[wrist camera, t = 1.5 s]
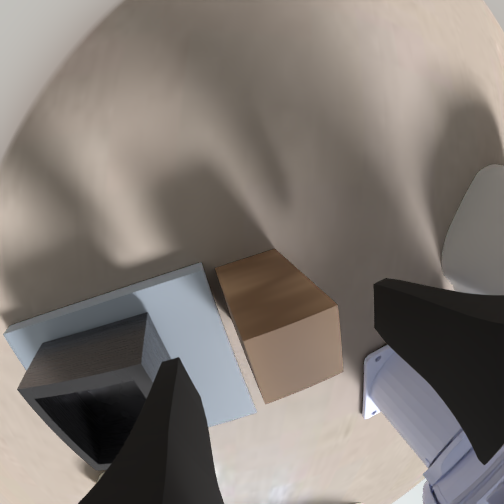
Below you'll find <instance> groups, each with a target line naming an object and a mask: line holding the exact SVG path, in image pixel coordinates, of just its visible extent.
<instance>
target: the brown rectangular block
mask: <svg viewBox="0 0 504 504" xmlns="http://www.w3.org/2000/svg"><path fill="white" fill-rule="evenodd" d="M215 271H216V274H217V277H218V280H219V283H220V286H221V289H222V292H223V295H224V298H225V301H226V304H227V307H228V310H229V313H230V316H231V319H232V322H233V324H234V327H235V330H236V332H237V335H238V337H239V340H240V343H241V345H242V348H243V350H244V353H245V355H246V358H247V360H248V363H249V365H250V368H251V370H252V373H253V375H254V378H255V380H256V383H257V385H258V388H259V390H260V392H261V395H262V397H263V400H264V402H265V404H268V403H270V402H273V401H276V400H279V399H281V398H284V397H286V396H289V395H291V394H294V393H296V392H299V391H301V390H304V389H306V388H309V387H311V386H313V385H316V384H318V383H320V382H322V381H325V380H327V379H329V378H331V377H333V376H335V375H338V374H340V373H342V372H343V359H342V345H341V332H340V321H339V311H338V305H337V304H336V303H335V302H334V301H333V300H332V299H331V298H330V297H329V296H327V295H326V294H325V293H324V292H323V291H322V290H321V289H320V288H319V287H317V286H316V285H315V284H314V283H313V282H312V281H311V280H310V279H309V278H307V277H306V276H305V275H304V274H303V273H302V272H301V271H300V270H298V269H297V268H296V267H295V266H294V265H293V264H292V263H291V262H289V261H288V260H287V259H286V258H285V257H284V256H283V255H281V254H280V253H279V252H278V251H277V250H276V249H272V250H269V251H266V252H263V253H260V254H256V255H253V256H250V257H247V258H244V259H241V260H238V261H235V262H232V263H229V264H226V265H223V266H220V267H217V268H215Z"/></svg>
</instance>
